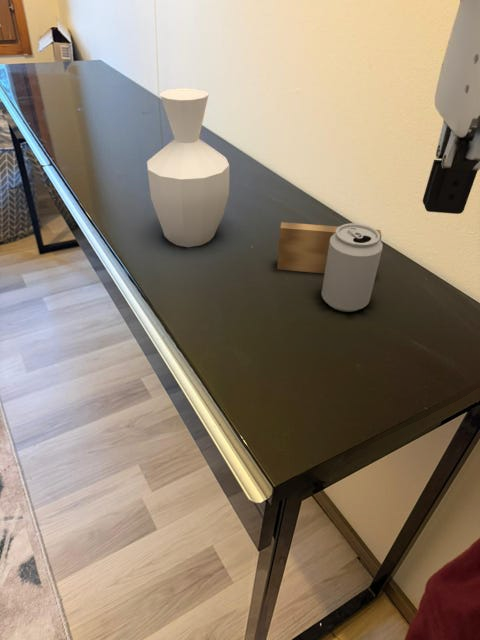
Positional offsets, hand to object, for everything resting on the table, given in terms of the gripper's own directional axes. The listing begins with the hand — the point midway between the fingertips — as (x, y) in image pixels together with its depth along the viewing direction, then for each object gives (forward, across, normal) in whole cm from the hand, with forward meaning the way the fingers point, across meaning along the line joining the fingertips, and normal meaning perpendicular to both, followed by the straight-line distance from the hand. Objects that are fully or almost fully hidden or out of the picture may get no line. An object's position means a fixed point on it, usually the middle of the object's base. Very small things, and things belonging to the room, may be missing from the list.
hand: (441, 208), depth 40 cm
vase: (+25, +36, +32) cm, 54 cm away
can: (+25, +20, +4) cm, 32 cm away
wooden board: (+25, +28, +7) cm, 38 cm away
